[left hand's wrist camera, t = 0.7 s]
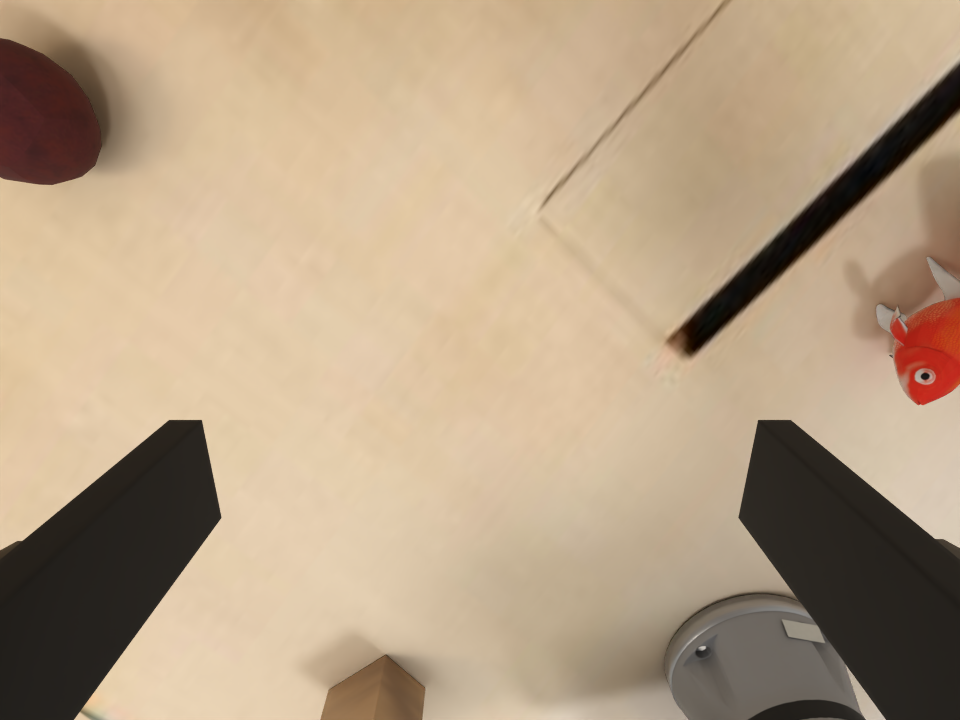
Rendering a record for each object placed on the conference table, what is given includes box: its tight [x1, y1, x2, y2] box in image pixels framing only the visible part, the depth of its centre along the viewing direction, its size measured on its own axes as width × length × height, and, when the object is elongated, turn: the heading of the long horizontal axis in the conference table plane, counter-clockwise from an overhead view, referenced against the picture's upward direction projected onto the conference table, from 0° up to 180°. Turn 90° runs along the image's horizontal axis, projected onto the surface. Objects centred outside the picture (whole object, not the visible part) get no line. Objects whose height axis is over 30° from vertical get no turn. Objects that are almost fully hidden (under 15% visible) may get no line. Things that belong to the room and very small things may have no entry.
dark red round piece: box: [0, 38, 101, 185], centre depth 30 cm, size 7×8×7 cm
